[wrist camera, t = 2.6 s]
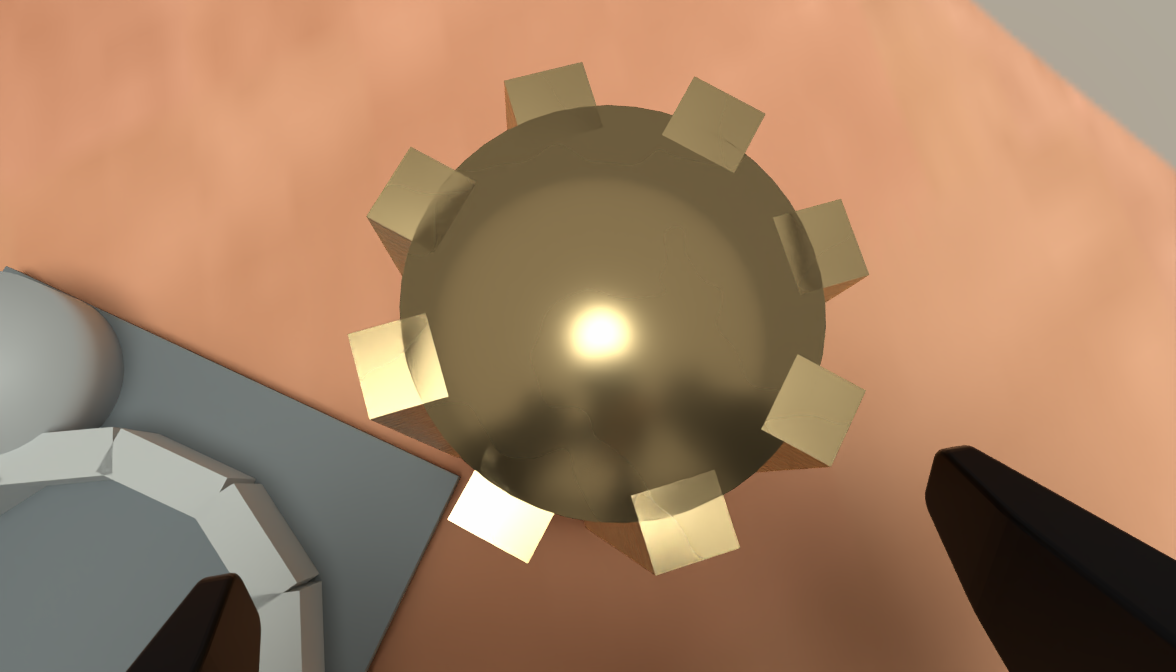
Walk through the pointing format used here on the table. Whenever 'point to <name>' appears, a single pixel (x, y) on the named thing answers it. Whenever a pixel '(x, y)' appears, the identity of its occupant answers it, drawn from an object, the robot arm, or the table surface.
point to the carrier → (185, 499)
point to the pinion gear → (610, 320)
